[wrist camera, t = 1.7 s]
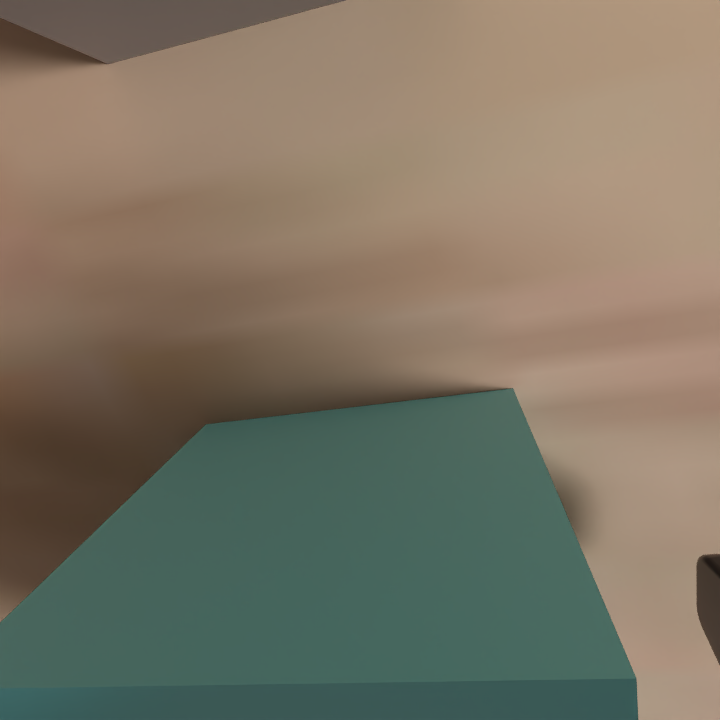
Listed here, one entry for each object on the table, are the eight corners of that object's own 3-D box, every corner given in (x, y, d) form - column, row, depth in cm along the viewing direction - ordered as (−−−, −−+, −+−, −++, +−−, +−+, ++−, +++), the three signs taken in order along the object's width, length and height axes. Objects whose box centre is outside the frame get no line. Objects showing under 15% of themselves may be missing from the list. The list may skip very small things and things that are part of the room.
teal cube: (512, 386, 8) (636, 679, 3) (540, 650, 9) (656, 1143, 4) (208, 422, 9) (-71, 690, 4) (273, 657, 10) (126, 1069, 5)
